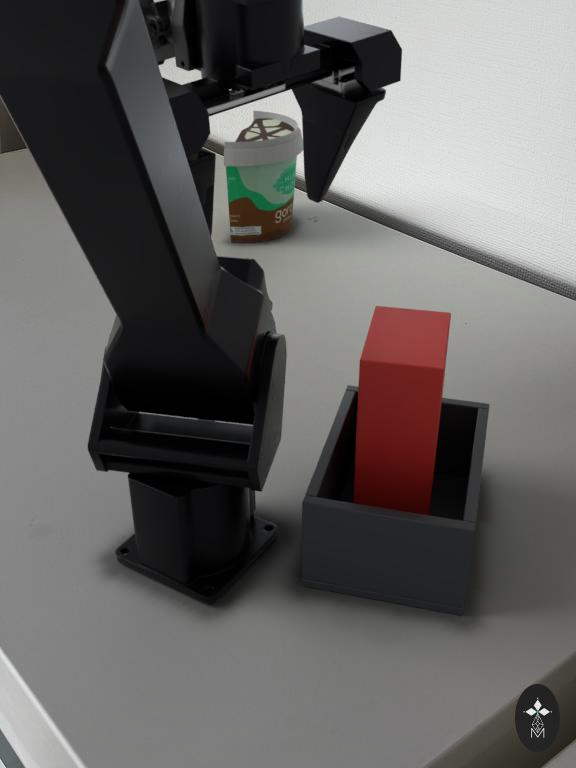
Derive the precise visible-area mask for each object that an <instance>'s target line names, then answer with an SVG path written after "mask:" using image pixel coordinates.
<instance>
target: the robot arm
mask: <svg viewBox="0 0 576 768" xmlns="http://www.w3.org/2000/svg"><path fill="white" fill-rule="evenodd" d="M304 9H305V8H304V0H158V1H155V0H0V100H1V102H2V103H3V105H4V107H5V109H6V110H7V113H8V116H10V118H11V120H12V122H13V124H14V126H15V128H16V129H17V131H18V134H19V135H20V136H21V137H20V138H21V140H22V141H23V143H24V144H25V147H26V148H27V150H28V152H29V154H30V156H31V158H32V160H33V162H34V163H35V165H36V167H37V170H38V171H39V172H40V175H41V176H42V179H43V180H44V182H45V184H46V186H47V188H48V190H49V192H50V193H51V195H52V197H53V199H54V201H55V203H56V205H57V206H58V208H59V210H60V211H61V214H62V216H63V219H65V221H66V223H67V225H68V227H69V229H70V231H71V233H72V235H73V236H74V238H75V240H76V242H77V244H78V246H79V248H80V249H81V251H82V253H83V255H84V257H85V258H86V261H87V262H88V264H89V266H90V268H91V270H92V272H93V274H94V276H95V277H96V279H97V281H98V284H99V285H100V287H101V288H102V290H103V292H104V294H105V297H106V299H107V300H108V302H109V304H110V306H111V307H112V309H113V311H114V313H115V318H114V320H113V324H112V328H111V331H110V333H109V337H108V340H107V341H108V342H107V344H106V346H105V348H104V351H103V352H104V353H103V358H102V364H101V365H102V366H101V372H100V373H101V374H100V381H99V385H98V391H97V396H96V401H95V405H94V411H93V415H92V421H91V426H90V431H89V435H88V440H87V452H88V455H89V456H90V459H91V461H92V463H93V466H94V468H95V470H96V472H104V473H108V472H109V471H110V472H118V473H127V481H128V489H129V497H130V506H131V514H132V522H133V529H134V530H133V531H134V532H133V534H132V535H131V536H130V537H129V538H127V539H126V540H125V541H123V543H121V544H120V545H119V546H118V547H117V548H116V549H115V559H116V561H117V562H118V563H119V564H122V565H124V566H126V567H128V568H130V569H132V570H134V571H136V572H138V573H141V574H143V575H145V576H147V577H149V578H151V579H153V580H155V581H157V582H160V583H162V584H164V585H166V586H168V587H170V588H172V589H173V590H174V589H175V590H177V591H178V592H180V593H183V594H185V595H186V596H188V597H191V598H193V599H195V600H197V601H199V602H201V603H203V604H207V605H209V604H214V603H216V602H217V601H219V600H220V599H221V597H222V596H223V595H224V594H225V593H226V592H227V591H228V590H229V589H230V588H231V587H232V586H233V585H234V584H235V582H236V581H237V580H238V579H239V578H240V577H241V576H242V575H243V574H244V573H245V572H246V571H247V570H248V569H249V567H250V566H251V565H252V564H253V563H254V562H255V561H256V560H257V559H258V558H259V557H260V556H261V555H262V553H263V552H264V551H265V550H266V549H267V548H268V547H269V546H270V545H271V543H273V541H274V540H276V538H277V537H278V536H279V535H278V533H279V532H278V531H279V530H278V526H277V524H275V523H274V522H271V521H269V520H266V519H264V518H261V517H259V516H257V515H255V511H256V508H257V507H256V492H263V490H264V487H265V484H266V481H267V479H268V476H269V473H270V471H271V468H272V465H273V462H274V460H275V456H276V454H277V451H278V450H279V449H278V448H279V446H280V444H281V441H282V433H283V432H282V430H283V419H284V418H283V417H284V415H283V414H284V404H285V403H284V402H285V386H286V372H287V358H288V356H287V355H288V354H287V352H288V351H287V348H288V347H287V340H286V339H287V338H286V336H285V334H283V333H277V327H276V326H277V325H276V321H275V317H274V315H273V313H272V309H273V306H274V305H273V304H274V303H273V301H272V300H271V299H270V296H269V293H268V289H267V282H266V275H265V271H264V268H263V267H261V265H260V264H259V263H258V262H257V260H256V259H255V258H247V257H237V256H236V257H235V256H223V255H217V253H216V249H215V246H214V243H213V239H212V235H213V234H212V233H213V221H214V201H215V200H214V199H215V182H216V162H217V161H216V159H217V156H216V155H217V154H216V152H214V151H212V150H209V149H207V148H205V147H204V146H205V144H206V142H207V140H208V138H209V136H211V126H210V125H211V123H210V117H212V116H214V115H218V114H221V113H224V112H227V111H230V110H233V109H236V108H239V107H242V106H245V105H248V104H251V103H254V102H257V101H260V100H263V99H266V98H269V97H272V96H275V95H279V94H281V93H285V92H288V91H290V90H291V91H292V93H293V96H294V98H295V100H296V103H297V105H298V107H299V109H300V112H301V124H302V125H301V126H302V127H301V128H302V139H303V151H302V152H303V175H304V184H305V191H306V197H307V198H308V200H310V201H312V202H313V203H317V204H319V203H322V202H323V201H324V200H325V197H326V195H327V194H328V191H330V190H329V189H330V188H331V185H332V184H333V182H334V180H335V178H336V176H337V174H338V172H339V170H340V168H341V166H342V164H343V162H344V161H345V159H346V156H347V155H348V153H349V151H350V149H351V147H352V146H353V144H354V143H355V140H356V138H357V137H358V135H359V133H360V132H361V130H362V128H363V127H364V125H365V123H366V122H367V120H368V119H369V117H370V115H371V113H372V112H373V110H374V109H375V107H376V105H378V104H379V102H382V101H384V100H385V99H386V95H387V89H386V88H385V87H387V86H390V85H393V84H396V83H399V82H401V81H402V79H401V78H402V61H403V48H402V47H401V45H400V43H399V41H398V40H397V38H396V36H395V34H394V33H393V31H392V30H391V29H388V28H384V27H380V26H378V25H377V26H376V25H374V24H369V23H366V22H362V21H358V20H354V19H351V18H347V17H342V16H335V17H332V18H328V19H325V20H322V21H318V22H314V23H311V24H308V25H305V18H304V17H305V14H304V11H305V10H304ZM173 58H174V59H175V60H174V61H175V67H177V68H178V69H182V70H184V71H187V72H191V71H194V70H196V71H199V72H200V75H201V78H200V79H196V80H193V81H190V82H187V83H183V84H180V83H178V82H176V81H173V80H170V79H169V78H168V79H167V78H165V77H163V76H162V73H161V69H160V66H161V65H164V64H165V62H166V61H167V60H170V59H173Z"/></svg>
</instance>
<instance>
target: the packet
mask: <svg viewBox="0 0 576 768" xmlns="http://www.w3.org/2000/svg"><path fill="white" fill-rule="evenodd" d="M451 319H452V313H451V312H449V311H448V312H447V311H438V310H437V311H436V310H425V309H414V308H404V307H393V306H383V305H382V306H381V305H376V306H375V307H374V310H373V314H372V317H371V320H370V324H369V328H368V332H367V335H366V338H365V341H364V345H363V349H362V351H361V355H360V357H359V369H358V408H357V430H356V451H355V473H354V494H353V503H355V504H361V505H367V506H373V507H379V508H386V509H392V510H398V511H404V512H410V513H416V514H423V515H429V513H430V504H431V496H432V488H433V479H434V470H435V461H436V451H437V442H438V432H439V423H440V414H441V404H442V398H443V394H444V387H445V386H444V385H445V384H444V383H445V375H446V368H447V367H446V366H447V365H446V364H447V356H448V348H449V347H448V346H449V337H450V330H451V329H450V327H451V321H452V320H451Z"/></svg>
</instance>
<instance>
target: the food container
mask: <svg viewBox="0 0 576 768" xmlns="http://www.w3.org/2000/svg"><path fill="white" fill-rule="evenodd" d="M252 116H253V121H252V122H251V124H249V126H248V127H245V128H244V129H241V131H240V133H239V134H238V136H237V138H236V139H235V141H224V143H223V144H224V149H223V166H224V167H225V173H226V174H225V175H226V189H227V203H228V204H227V205H228V217H229V218H228V219H229V233H230V243H238V244H239V243H241V244H244V243H245V244H247V243H258V242H265V241H270V240H274V239H276V238H278V237H281V236H284V235H286V234H288V232H290V230H291V229H292V226H293V214H294V202H295V201H294V200H295V188H296V173H297V162H298V161H297V160H298V156H299V155H300V154H301V153H302V152H303V133H302V129H301V128H300V127H299V123H298V122H297V120H295V119H294V118H292V117H290V116H287V115H285V114H281V113H277V112H271V111H263V110H253V115H252Z"/></svg>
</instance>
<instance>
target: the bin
mask: <svg viewBox="0 0 576 768" xmlns="http://www.w3.org/2000/svg"><path fill="white" fill-rule="evenodd" d="M358 387H359V385H358V386H357V385H350V384H348V385H347V386H346V389H345V391H344V394H343V396H342V399H341V402H340V403H339V406H338V409H337V411H336V414H335V417H334V420H333V422H332V424H331V427H330V430H329V432H328V435H327V437H326V439H325V440H326V441H325V442H324V445H323V447H322V451H321V453H320V456H319V458H318V461H317V463H316V467H315V469H314V471H313V474H312V477H311V479H310V482H309V484H308V487H307V490H306V492H305V494H304V498H303V499H302V502H301V510H302V511H301V515H302V516H301V517H302V518H301V586H302V587H306V588H311V589H317V590H323V591H329V592H333V593H337V594H338V593H339V594H343V595H349V596H354V597H359V598H360V597H361V598H366V599H371V600H377V601H383V602H388V603H393V604H398V605H399V604H400V605H403V606H408V607H409V606H410V607H413V608H414V607H415V608H420V609H425V610H429V611H430V610H431V611H434V612H435V611H437V612H441V613H447V614H451V615H452V614H453V615H458V616H463V615H464V610H465V603H466V602H465V601H466V595H467V588H468V582H469V575H470V569H471V562H472V554H473V546H474V540H475V534H476V525H477V516H478V508H479V500H480V499H479V498H480V492H481V491H480V490H481V482H482V473H483V465H484V458H485V457H484V455H485V448H486V440H487V439H486V438H487V429H488V421H489V415H490V414H489V413H490V403H488V402H487V403H486V402H479V401H471V400H463V399H457V398H448V397H442V404H441V414H440V423H439V432H438V442H437V451H436V461H435V470H434V479H433V488H432V496H431V504H430V513H429V515H423V514H416V513H410V512H404V511H398V510H392V509H386V508H379V507H373V506H367V505H361V504H355V503H353V494H354V473H355V451H356V430H357V408H358Z"/></svg>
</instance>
